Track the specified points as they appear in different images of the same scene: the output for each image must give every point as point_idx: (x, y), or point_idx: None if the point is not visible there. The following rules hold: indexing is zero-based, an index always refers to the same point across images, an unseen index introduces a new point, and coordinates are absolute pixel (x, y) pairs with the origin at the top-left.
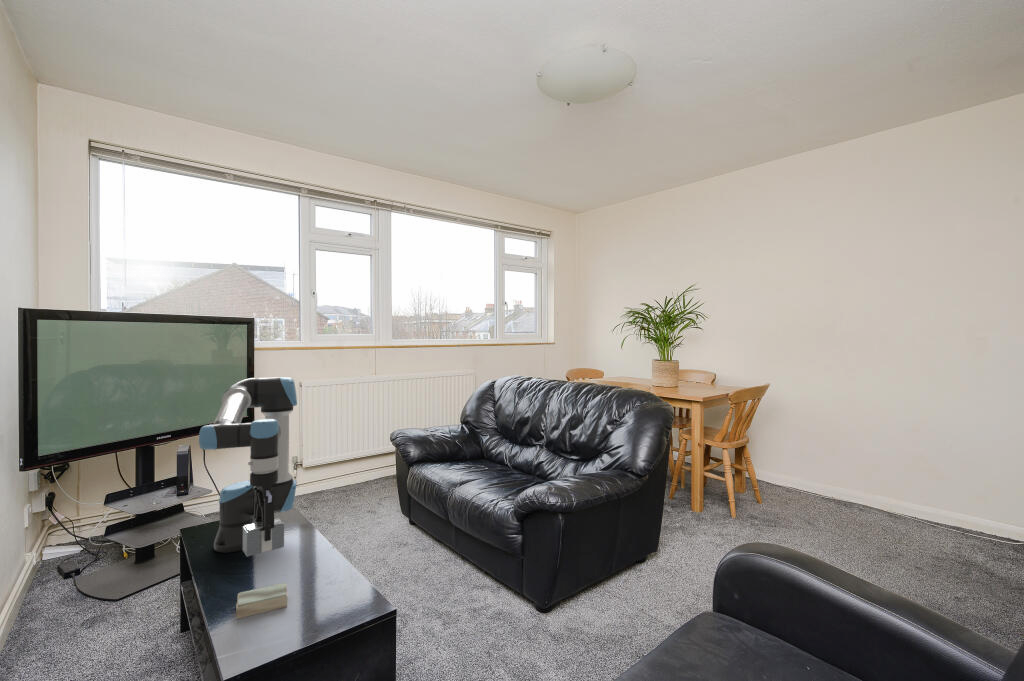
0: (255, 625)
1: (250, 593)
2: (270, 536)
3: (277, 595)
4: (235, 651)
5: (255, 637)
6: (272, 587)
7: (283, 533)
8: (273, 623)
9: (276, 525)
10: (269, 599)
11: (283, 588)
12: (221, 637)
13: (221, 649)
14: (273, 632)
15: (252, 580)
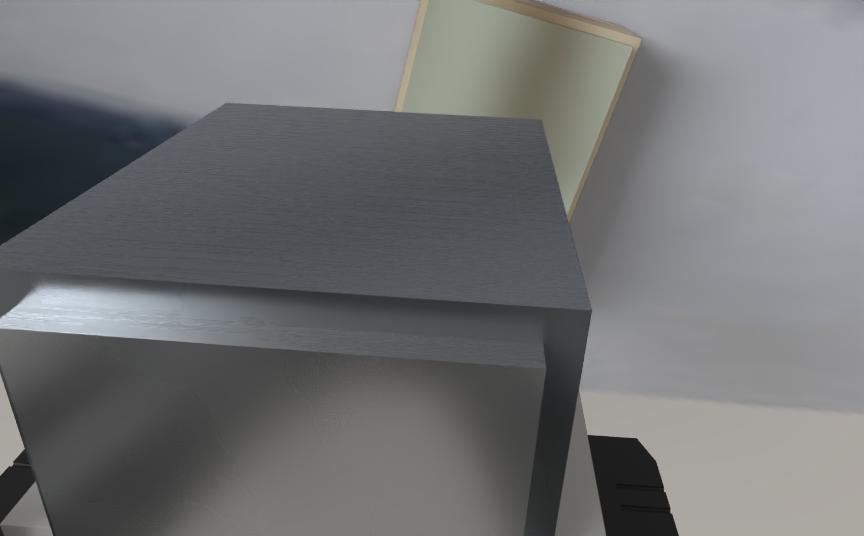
0: (668, 235)
1: None
2: (663, 495)
3: (599, 105)
4: (817, 358)
5: (788, 265)
6: (442, 97)
7: (560, 211)
8: (739, 154)
9: (537, 478)
10: (589, 158)
11: (522, 33)
12: (635, 375)
13: (740, 395)
14: (834, 181)
15: (72, 107)
